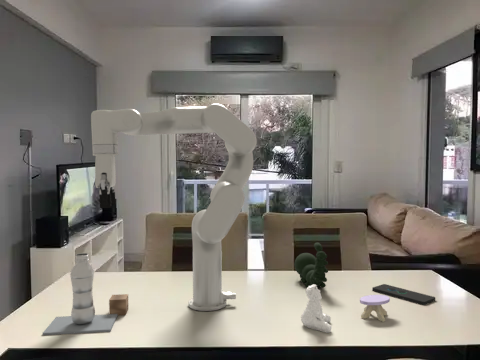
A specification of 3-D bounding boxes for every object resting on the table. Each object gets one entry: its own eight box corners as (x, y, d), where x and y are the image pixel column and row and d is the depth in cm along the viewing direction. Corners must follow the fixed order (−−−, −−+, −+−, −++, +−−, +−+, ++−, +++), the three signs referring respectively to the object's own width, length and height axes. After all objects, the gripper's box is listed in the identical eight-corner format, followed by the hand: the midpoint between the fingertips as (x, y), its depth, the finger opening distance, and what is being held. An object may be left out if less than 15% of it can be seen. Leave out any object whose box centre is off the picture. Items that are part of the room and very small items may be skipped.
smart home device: (384, 283, 156) (436, 296, 140) (384, 287, 156) (436, 301, 140) (371, 287, 151) (423, 301, 135) (371, 292, 151) (423, 306, 135)
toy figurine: (333, 297, 149) (310, 273, 173) (335, 246, 146) (312, 229, 171) (308, 298, 147) (288, 274, 172) (310, 247, 145) (290, 230, 169)
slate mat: (117, 315, 126) (117, 313, 126) (110, 331, 114) (110, 329, 114) (56, 318, 124) (56, 316, 124) (42, 335, 112) (42, 333, 112)
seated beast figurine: (331, 333, 113) (332, 290, 112) (300, 331, 114) (300, 289, 114) (330, 320, 122) (330, 281, 121) (301, 319, 123) (301, 279, 123)
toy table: (382, 310, 131) (382, 292, 130) (397, 321, 122) (397, 302, 121) (353, 312, 129) (353, 294, 129) (366, 323, 120) (366, 304, 120)
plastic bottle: (100, 319, 121) (99, 252, 120) (84, 328, 115) (83, 257, 114) (82, 317, 123) (81, 251, 123) (65, 325, 117) (64, 256, 116)
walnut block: (128, 309, 132) (128, 294, 132) (126, 315, 127) (125, 299, 127) (112, 310, 131) (112, 294, 131) (109, 315, 126) (109, 299, 126)
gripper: (97, 151, 134) (100, 204, 135) (87, 150, 117) (90, 209, 118) (121, 151, 135) (123, 202, 136) (114, 149, 118) (117, 208, 119)
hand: (108, 206), depth 127 cm, fingers open, 9 cm apart
